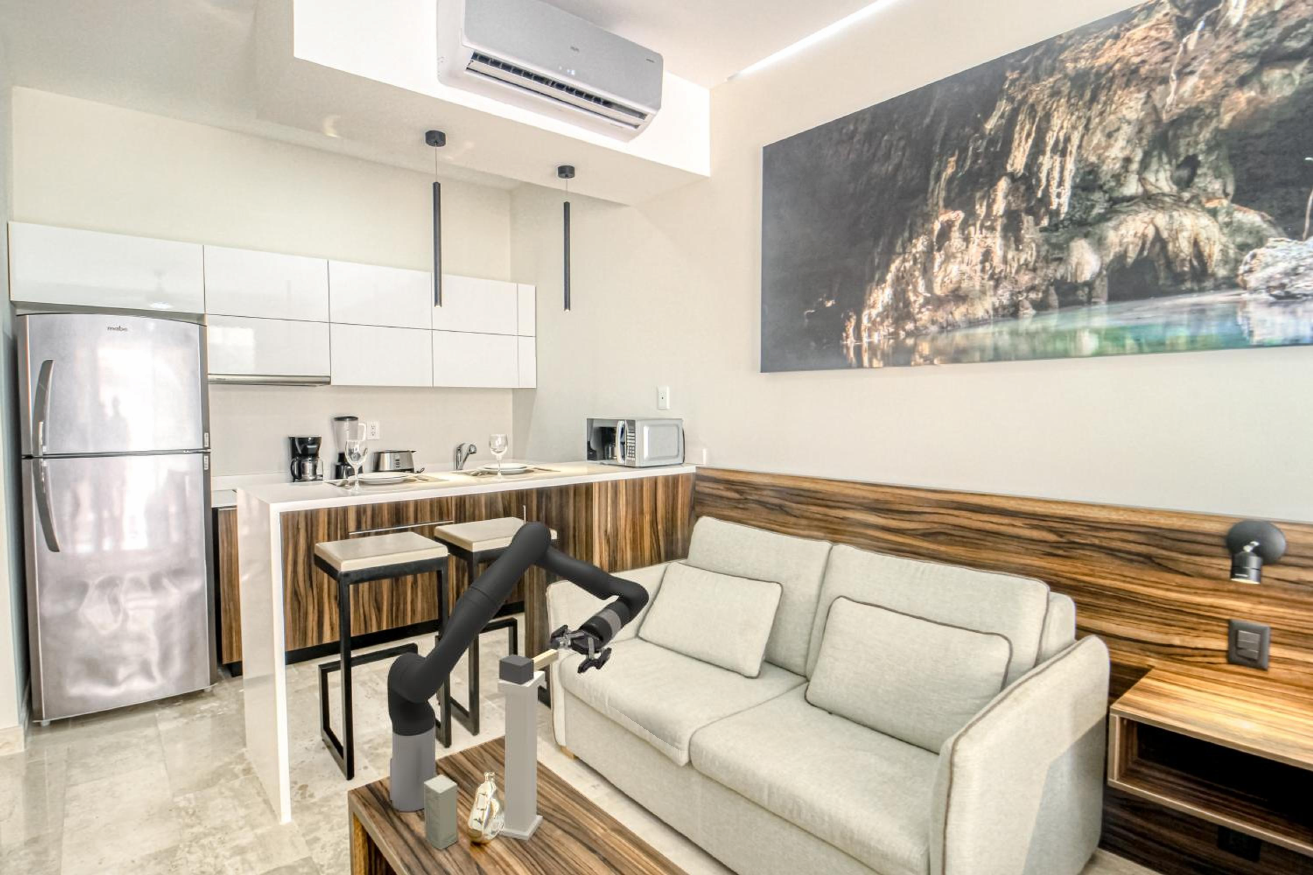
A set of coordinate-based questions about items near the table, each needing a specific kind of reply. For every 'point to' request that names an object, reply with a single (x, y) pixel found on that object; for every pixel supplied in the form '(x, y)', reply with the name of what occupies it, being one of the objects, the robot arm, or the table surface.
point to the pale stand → (521, 757)
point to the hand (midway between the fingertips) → (563, 661)
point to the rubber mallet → (524, 666)
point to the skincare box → (441, 811)
